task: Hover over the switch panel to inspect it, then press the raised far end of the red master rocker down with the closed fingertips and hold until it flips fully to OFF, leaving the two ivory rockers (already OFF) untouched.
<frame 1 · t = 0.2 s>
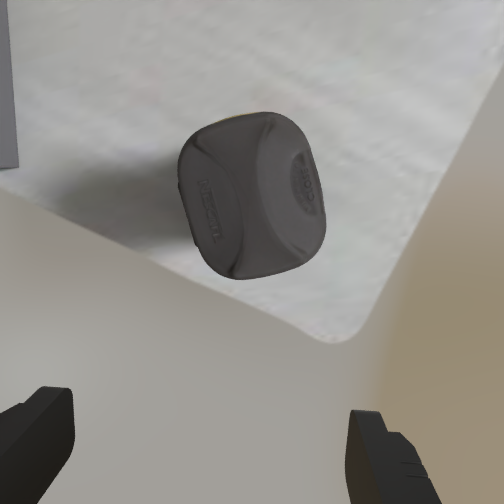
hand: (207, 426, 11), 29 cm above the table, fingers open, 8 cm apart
coffee jar: (262, 185, 39), on the table
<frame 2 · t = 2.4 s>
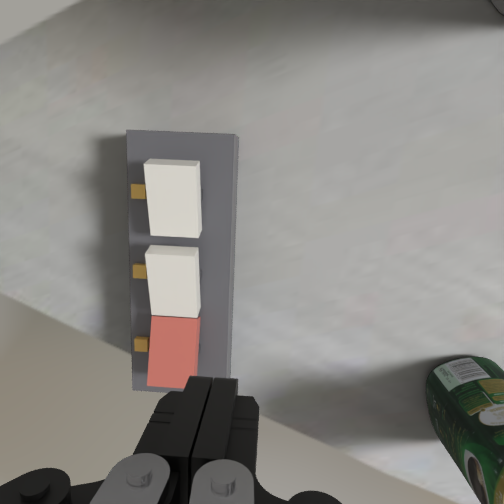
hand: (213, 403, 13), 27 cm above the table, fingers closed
coffee jar: (463, 394, 41), on the table
switch panel: (188, 261, 40), on the table
rocker 1: (174, 199, 33), point 6 cm above the table, hinge at 15.0°
rocker 3: (174, 350, 36), point 6 cm above the table, hinge at -15.0°
rocker 2: (174, 281, 34), point 6 cm above the table, hinge at 15.0°
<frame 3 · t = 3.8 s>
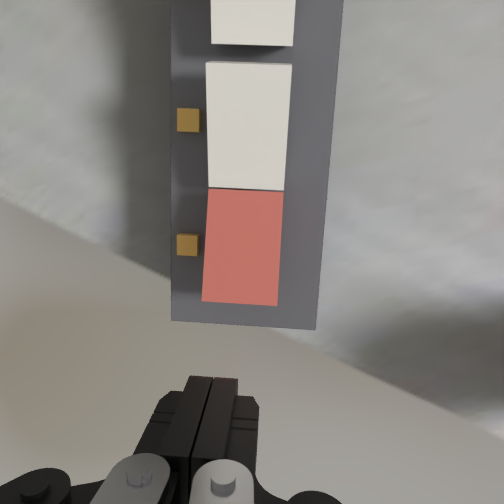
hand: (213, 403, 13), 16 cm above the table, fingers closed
switch panel: (254, 128, 26), on the table
rocker 3: (243, 247, 22), point 6 cm above the table, hinge at -15.0°
rocker 2: (248, 127, 21), point 6 cm above the table, hinge at 15.0°
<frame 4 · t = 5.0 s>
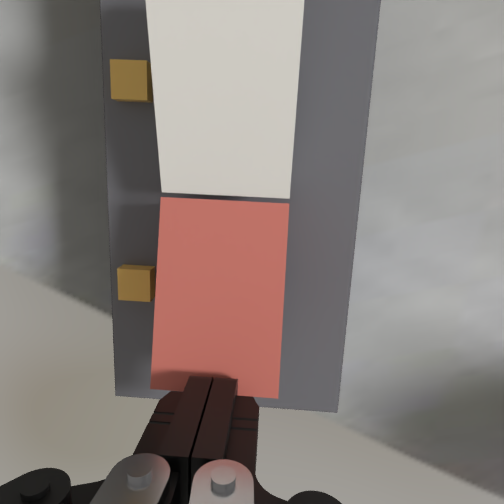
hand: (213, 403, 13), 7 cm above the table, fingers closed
switch panel: (244, 102, 17), on the table
rocker 3: (222, 294, 13), point 6 cm above the table, hinge at -13.1°, touching gripper
rocker 2: (228, 89, 12), point 6 cm above the table, hinge at 15.0°
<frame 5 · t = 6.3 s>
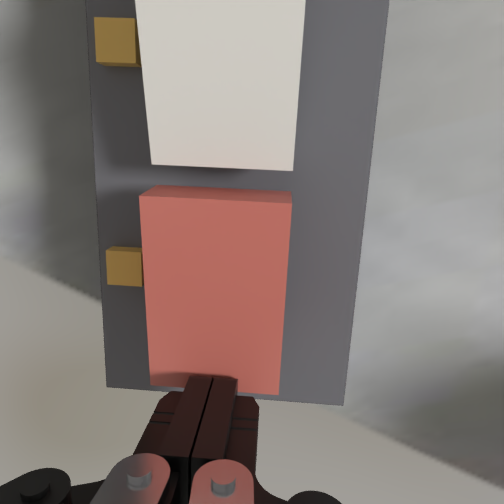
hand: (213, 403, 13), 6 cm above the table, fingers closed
switch panel: (244, 72, 16), on the table
rocker 3: (218, 291, 12), point 6 cm above the table, hinge at 5.5°, touching gripper
rocker 2: (224, 46, 11), point 6 cm above the table, hinge at 15.0°
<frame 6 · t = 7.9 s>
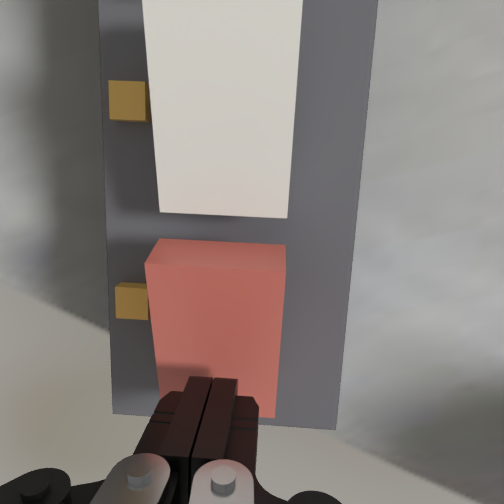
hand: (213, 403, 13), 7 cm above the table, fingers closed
switch panel: (241, 119, 18), on the table
rocker 3: (219, 332, 13), point 6 cm above the table, hinge at 16.3°
rocker 2: (225, 110, 12), point 6 cm above the table, hinge at 15.0°
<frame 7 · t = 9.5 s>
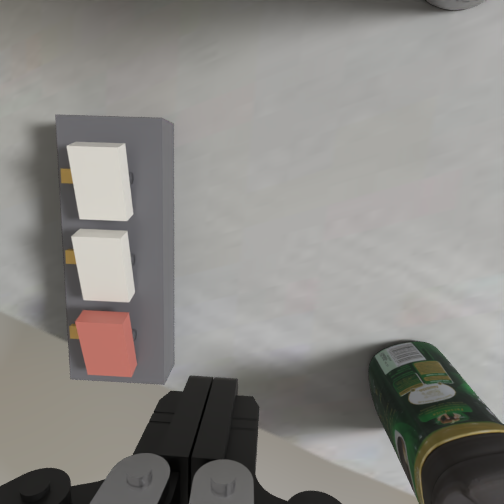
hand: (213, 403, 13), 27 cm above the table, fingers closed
coffee jar: (407, 381, 41), on the table
switch panel: (128, 249, 40), on the table
rocker 1: (101, 182, 33), point 6 cm above the table, hinge at 15.0°
rocker 3: (107, 344, 35), point 6 cm above the table, hinge at 17.6°
rocker 2: (104, 266, 34), point 6 cm above the table, hinge at 15.0°
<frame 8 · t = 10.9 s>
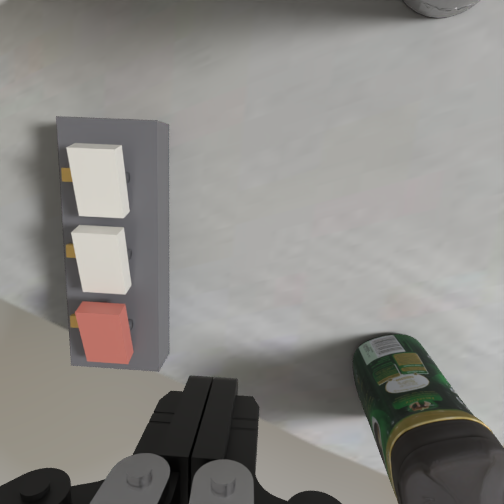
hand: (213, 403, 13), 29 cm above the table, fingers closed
coffee jar: (390, 371, 43), on the table
switch panel: (126, 243, 42), on the table
rocker 1: (99, 181, 35), point 6 cm above the table, hinge at 15.0°
rocker 3: (105, 333, 38), point 6 cm above the table, hinge at 17.8°
rocker 2: (102, 260, 36), point 6 cm above the table, hinge at 15.0°
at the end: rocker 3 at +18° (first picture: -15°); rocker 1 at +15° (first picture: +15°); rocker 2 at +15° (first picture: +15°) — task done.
